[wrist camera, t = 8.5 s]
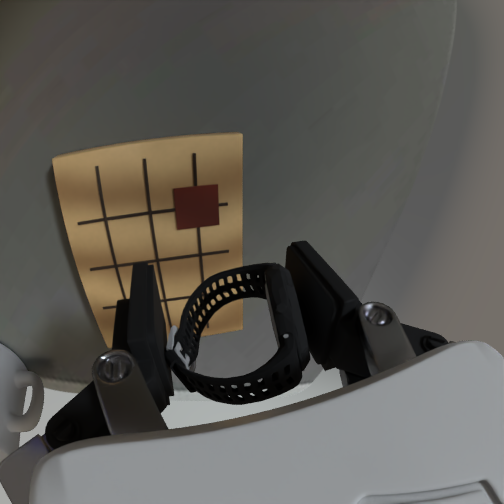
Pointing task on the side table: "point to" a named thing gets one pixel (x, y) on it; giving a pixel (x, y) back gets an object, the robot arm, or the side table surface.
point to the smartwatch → (284, 325)
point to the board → (155, 221)
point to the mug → (16, 400)
